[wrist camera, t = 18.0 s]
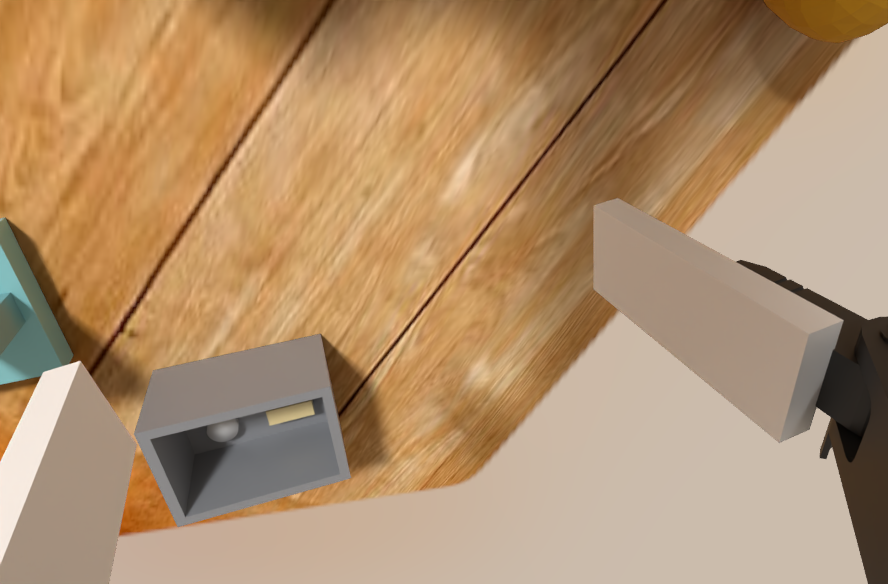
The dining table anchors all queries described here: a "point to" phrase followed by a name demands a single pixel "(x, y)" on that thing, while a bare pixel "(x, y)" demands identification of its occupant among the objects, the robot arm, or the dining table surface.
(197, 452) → the tub
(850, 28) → the apple
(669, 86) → the dining table surface
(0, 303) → the lid
